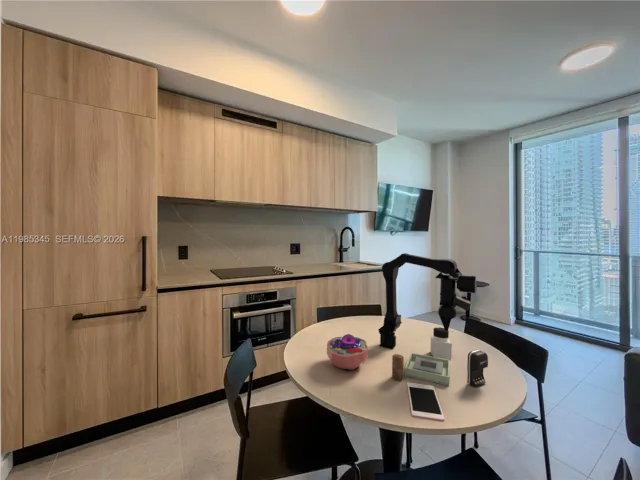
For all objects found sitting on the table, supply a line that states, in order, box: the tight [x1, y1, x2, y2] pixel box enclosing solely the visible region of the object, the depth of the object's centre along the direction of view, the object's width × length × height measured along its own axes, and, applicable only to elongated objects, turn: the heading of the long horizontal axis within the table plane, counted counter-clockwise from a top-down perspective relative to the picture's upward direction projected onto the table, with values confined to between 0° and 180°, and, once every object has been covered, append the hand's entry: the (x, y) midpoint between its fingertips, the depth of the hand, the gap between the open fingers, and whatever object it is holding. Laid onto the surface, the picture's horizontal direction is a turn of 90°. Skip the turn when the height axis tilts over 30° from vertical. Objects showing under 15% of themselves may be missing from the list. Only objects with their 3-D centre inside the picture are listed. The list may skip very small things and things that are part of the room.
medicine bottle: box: [429, 326, 453, 361], centre depth 120 cm, size 7×7×12 cm
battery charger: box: [466, 349, 489, 387], centre depth 97 cm, size 7×4×11 cm, turn 117°
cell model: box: [326, 333, 370, 370], centre depth 111 cm, size 17×20×11 cm
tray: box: [404, 352, 451, 387], centre depth 106 cm, size 15×15×3 cm
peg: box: [391, 353, 405, 382], centre depth 101 cm, size 4×4×8 cm
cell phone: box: [406, 382, 445, 422], centre depth 88 cm, size 9×18×1 cm, turn 167°
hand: (446, 327), depth 115 cm, fingers open, 9 cm apart
